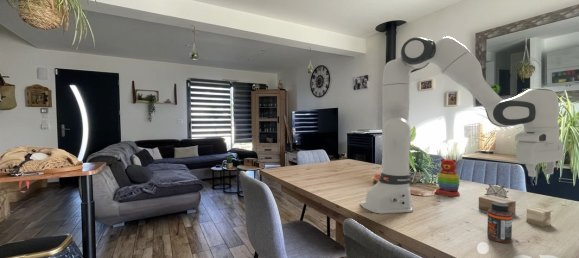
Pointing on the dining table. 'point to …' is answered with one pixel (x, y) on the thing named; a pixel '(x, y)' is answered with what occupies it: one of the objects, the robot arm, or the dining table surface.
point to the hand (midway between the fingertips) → (540, 175)
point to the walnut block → (486, 201)
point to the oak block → (538, 216)
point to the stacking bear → (448, 179)
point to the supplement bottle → (499, 223)
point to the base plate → (487, 212)
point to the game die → (496, 191)
